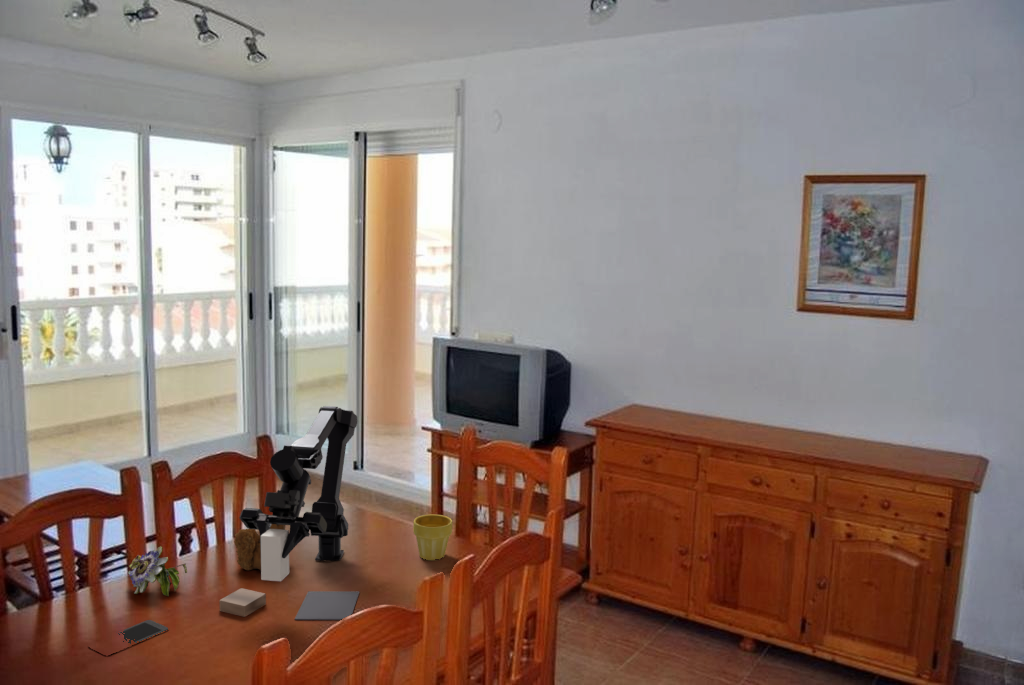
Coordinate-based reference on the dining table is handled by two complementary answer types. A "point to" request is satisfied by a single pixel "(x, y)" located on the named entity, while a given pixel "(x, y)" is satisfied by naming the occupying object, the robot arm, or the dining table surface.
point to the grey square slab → (242, 602)
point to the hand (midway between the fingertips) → (272, 556)
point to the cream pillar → (274, 555)
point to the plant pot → (432, 535)
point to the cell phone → (143, 631)
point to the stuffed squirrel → (250, 547)
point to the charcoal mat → (327, 605)
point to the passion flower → (153, 572)
